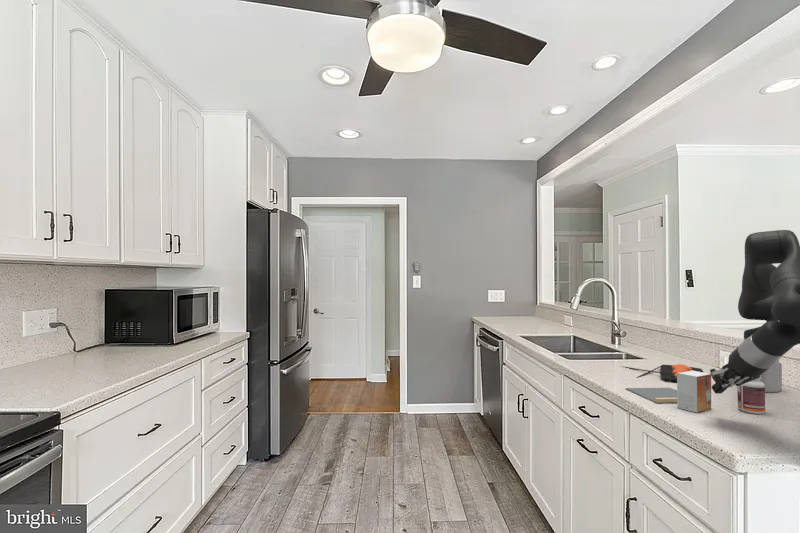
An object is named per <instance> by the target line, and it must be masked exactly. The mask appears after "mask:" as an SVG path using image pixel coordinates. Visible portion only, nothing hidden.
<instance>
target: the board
mask: <svg viewBox="0 0 800 533" xmlns="http://www.w3.org/2000/svg"><path fill="white" fill-rule="evenodd" d="M625 390H626V391H628V390H629V392H630V391H631V393H632V394H636V395H638V396H639V397H642V398H644V399H646V400H649V401H650V402H652V403H655V404H657V405H661V404H662V405H663V404H665V405H666V404H677V389H674V388H672V387H626V388H625Z"/></svg>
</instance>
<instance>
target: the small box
mask: <svg viewBox="0 0 800 533" xmlns="http://www.w3.org/2000/svg"><path fill="white" fill-rule="evenodd" d="M703 372H704V371H703ZM703 372H698V371H692V370H691V371H687V372H681V373H677V382H676V388H677V389H676V390H677V403H676V406H677V408H678V409H682V410H685V411H688V412H693V413H697V414H698V413H702V412H705V411H711V410H712V376H711V373H708V372H704V373H703Z"/></svg>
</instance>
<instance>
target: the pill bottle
mask: <svg viewBox="0 0 800 533" xmlns="http://www.w3.org/2000/svg"><path fill="white" fill-rule="evenodd" d="M760 380H761V376H760V378H758V379H755V380H752V381H750V382H747V383H745V384H742V385H740V386H736V388H737V390H736V391H737V409H738V410H740V411H741V412H743V413H744V412H745V413H748V414H754V415H755V414H756V415H763V414H765V413H766V392H765V385H764V383H763V382H761V381H760Z"/></svg>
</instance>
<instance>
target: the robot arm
mask: <svg viewBox="0 0 800 533" xmlns="http://www.w3.org/2000/svg"><path fill="white" fill-rule="evenodd" d="M775 264H777V265H778V266H775ZM740 292H741V293H740V296H739V299H738V303H737V309H738V310H737V311H738V313H739V316H740V317H741V318H742V319H746V320H751V321H752V320H753V321H755V320H756V321H766V322H765V323H763V324H762V325H761V326H758V327H754V328H750V329H746V330H744V332H743V341H742V342H741V343H740V344H739V345H738V346H737V347H736V348H735V349H734V350H733V351H732V352H731V353H730V354H729V356H728V360H727V361H728V362H727V363H726V364H724V365H722V367H721V369H715V368H711V369H709V372H710V373H709V374H711V379H712V380H713V381H714V382H715V383H714V384H713V385H711V390H712V391H713V392H714V394H717V395H718V394H723V393H724V392H725V391H726V390H727V389H729V388H733V387H734V386H736V387H737V386H740V385H742V384H745V383H747V382H750V381H752V380H755V379H758V378H760V376H761V380H760V381H761V382H763V383H764V385H765V393H779V392H782V391H783V374H782V372H783V371H782V370H783V367H782V366H783V365H782V362H780V359H781V358H782V357H783V356H784V355H785V354H786V353H787V352H789V351H790V350H791V349H792V348H794V347H795V346H797V345H800V241H799V239H798V236H797V235H796V233H795V232H793V231H792V230H789V229H777V230H767V231H758V232H753V233H749V234H748V235H747V236H746V238H745V242H744V268H743V273H742V279H741V291H740Z"/></svg>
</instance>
